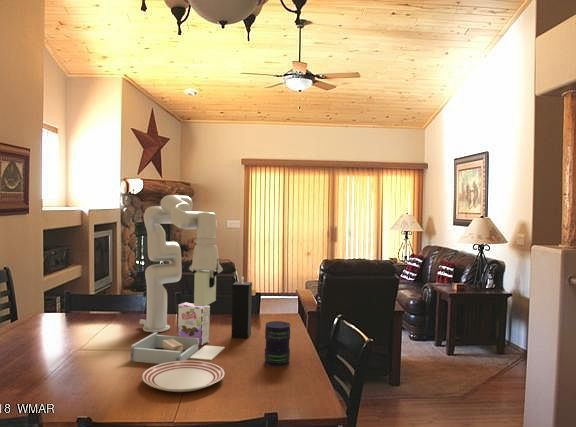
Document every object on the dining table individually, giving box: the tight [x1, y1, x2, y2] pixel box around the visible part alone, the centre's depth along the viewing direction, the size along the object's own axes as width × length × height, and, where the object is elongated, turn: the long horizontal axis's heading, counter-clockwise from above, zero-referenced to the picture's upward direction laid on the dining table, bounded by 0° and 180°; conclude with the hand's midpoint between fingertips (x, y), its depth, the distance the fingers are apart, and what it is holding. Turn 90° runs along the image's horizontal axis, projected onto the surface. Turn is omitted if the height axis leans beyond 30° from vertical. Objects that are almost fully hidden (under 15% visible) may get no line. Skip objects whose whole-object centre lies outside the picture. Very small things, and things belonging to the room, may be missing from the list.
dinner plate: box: [141, 360, 225, 393], centre depth 151 cm, size 27×27×3 cm
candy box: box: [177, 301, 211, 346], centre depth 196 cm, size 14×6×16 cm, turn 62°
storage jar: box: [264, 320, 291, 368], centre depth 171 cm, size 10×10×15 cm
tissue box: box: [231, 276, 253, 339], centre depth 206 cm, size 8×8×28 cm
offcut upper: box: [161, 339, 184, 354], centre depth 176 cm, size 4×10×3 cm, turn 39°
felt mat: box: [189, 344, 225, 361], centre depth 181 cm, size 9×16×1 cm, turn 169°
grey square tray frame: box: [130, 332, 200, 365], centre depth 177 cm, size 20×19×6 cm
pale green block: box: [193, 269, 217, 307], centre depth 180 cm, size 4×12×13 cm, turn 168°
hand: (205, 286), depth 181 cm, fingers closed on pale green block, 4 cm apart
